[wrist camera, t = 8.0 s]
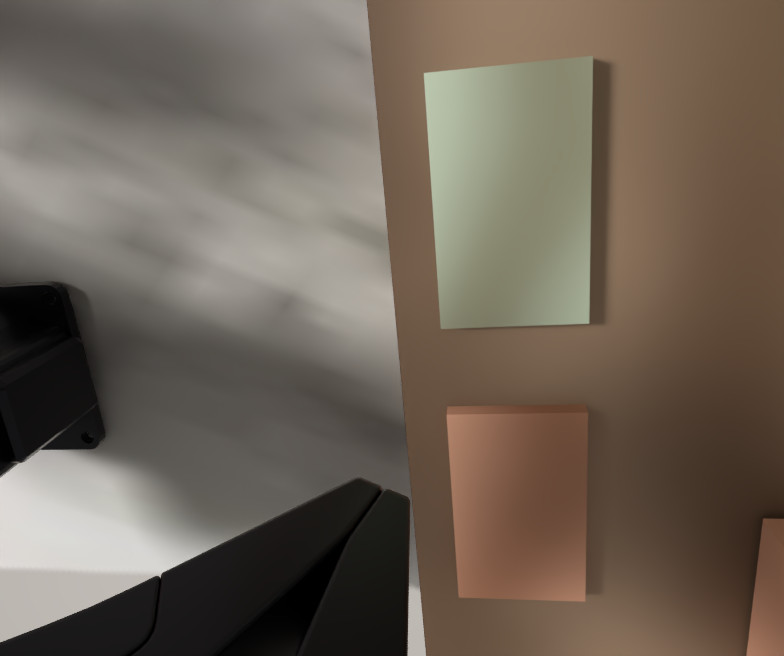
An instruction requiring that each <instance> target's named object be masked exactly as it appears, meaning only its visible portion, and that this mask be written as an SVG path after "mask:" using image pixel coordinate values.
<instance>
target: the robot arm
mask: <svg viewBox="0 0 784 656" xmlns="http://www.w3.org/2000/svg"><path fill="white" fill-rule="evenodd" d="M49 292H51V293H52V294H53V295H54V296H55V298H56V302H55V301H53V300H52V299H51V297H50V294H49ZM87 432H89V433H90V434H92V436H93V438H91V437H90V436H89V435H88V433H87ZM104 439H105V430H104V426H103V422H102V418H101V415H100V411H99V407H98V403H97V398H96V394H95V390H94V386H93V383H92V379H91V375H90V371H89V367H88V364H87V360H86V356H85V352H84V349H83V345H82V342H81V339H80V335H79V331H78V328H77V324H76V320H75V316H74V312H73V309H72V305H71V301H70V297H69V294H68V292H67V290H66V288H65V287H64V286H63V285H61V284H59V283H58V282H37V283H19V284H0V477H2V476H3V475H4V474H6V473H7V472H8V471H9V470H11V469H12V468H13V467H15V466H16V465H17V464H18V463H22V462H25V461H26V460H28V459H29V458H30V457H31V456H33V455H34V454H35V453H37V452H38V451H39V450H69V449H95V448H96V447H97V446H98V445H100V444H101V443H102V442H103V441H104ZM409 540H410V500H409V498H408V497H406V496H403V495H401V494H399V493H396V492H394V491H392V490H389V489H385V490H382V488H381V486H379V485H377V484H375V483H372V482H370V481H368V480H365V479H363V478H354V479H352V480H350V481H348V482H346V483H344V484H342V485H340V486H338V487H336V488H334V489H332V490H330V491H328V492H326V493H324V494H322V495H320V496H318V497H316V498H314V499H312V500H310V501H308V502H306V503H304V504H301V505H299V506H297V507H295V508H293V509H291V510H289V511H287V512H285V513H283V514H281V515H279V516H277V517H275V518H273V519H271V520H269V521H267V522H265V523H263V524H261V525H259V526H257V527H255V528H253V529H251V530H249V531H247V532H245V533H243V534H241V535H239V536H237V537H234V538H232V539H230V540H228V541H226V542H224V543H222V544H220V545H218V546H216V547H214V548H212V549H210V550H208V551H206V552H204V553H202V554H200V555H198V556H196V557H194V558H192V559H190V560H188V561H186V562H184V563H182V564H180V565H178V566H176V567H174V568H172V569H170V570H167V571H165V572H163V573H162V574H161V579H160V577H159V576H155V577H153V578H151V579H149V580H147V581H145V582H143V583H141V584H139V585H137V586H135V587H132V588H130V589H128V590H126V591H124V592H122V593H120V594H117V595H115V596H113V597H111V598H109V599H107V600H104V601H102V602H100V603H98V604H96V605H94V606H91V607H89V608H87V609H84V610H82V611H79V612H77V613H74V614H72V615H69V616H67V617H65V618H62V619H60V620H57V621H55V622H52V623H50V624H47V625H45V626H42V627H40V628H37V629H34V630H32V631H29V632H27V633H24V634H21V635H19V636H16V637H14V638H11V639H8V640H6V641H3V642H0V656H407V651H408V650H407V649H408V645H407V644H408V596H409V595H408V594H409Z"/></svg>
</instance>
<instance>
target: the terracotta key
mask: <svg viewBox="0 0 784 656" xmlns="http://www.w3.org/2000/svg"><path fill="white" fill-rule="evenodd" d="M746 656H784V519H763V523H762V531H761V539H760V547H759V556H758V564H757V572H756V580H755V589H754V597H753V605H752V613H751V622H750V630H749V638H748V646H747V655H746Z"/></svg>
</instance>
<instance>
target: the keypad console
mask: <svg viewBox="0 0 784 656" xmlns="http://www.w3.org/2000/svg"><path fill="white" fill-rule="evenodd" d="M367 7H368V18H369V29H370V40H371V51H372V62H373V73H374V85H375V96H376V107H377V118H378V129H379V140H380V151H381V162H382V173H383V184H384V195H385V206H386V217H387V228H388V239H389V250H390V261H391V272H392V283H393V294H394V305H395V316H396V327H397V338H398V349H399V360H400V371H401V382H402V393H403V404H404V415H405V426H406V437H407V448H408V459H409V471H410V482H411V493H412V504H413V515H414V526H415V537H416V548H417V559H418V570H419V581H420V592H421V603H422V613H423V625H424V636H425V647H426V656H746V655H747V646H748V638H749V630H750V622H751V613H752V605H753V597H754V589H755V580H756V572H757V564H758V556H759V547H760V539H761V531H762V523H763V519H784V0H367Z"/></svg>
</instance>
